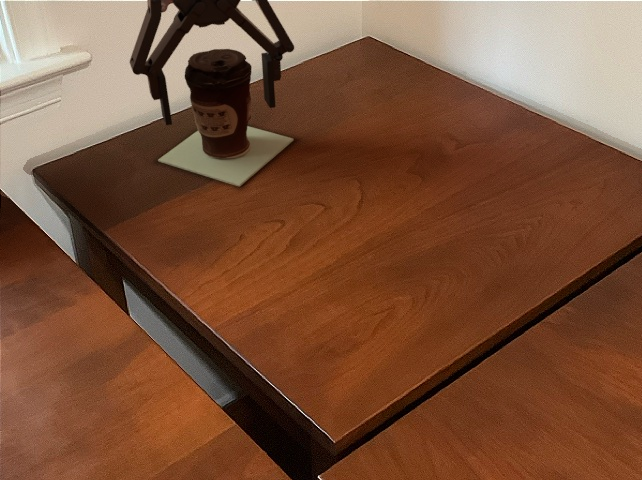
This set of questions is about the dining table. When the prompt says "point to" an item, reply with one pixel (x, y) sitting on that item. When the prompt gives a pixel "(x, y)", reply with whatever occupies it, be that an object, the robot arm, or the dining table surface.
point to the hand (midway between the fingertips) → (219, 111)
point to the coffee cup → (220, 100)
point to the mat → (229, 169)
